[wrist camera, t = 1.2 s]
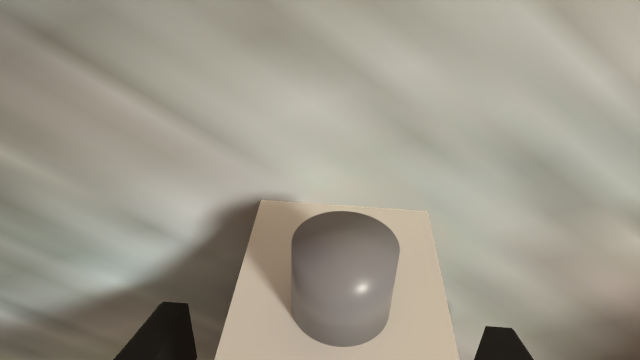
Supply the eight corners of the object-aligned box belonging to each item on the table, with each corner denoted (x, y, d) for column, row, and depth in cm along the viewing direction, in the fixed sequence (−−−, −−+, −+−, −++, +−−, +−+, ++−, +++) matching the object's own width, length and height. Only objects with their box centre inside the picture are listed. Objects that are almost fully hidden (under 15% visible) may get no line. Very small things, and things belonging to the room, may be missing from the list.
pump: (438, 154, 10) (493, 343, 6) (395, 363, 15) (411, 561, 10) (259, 143, 11) (196, 320, 6) (267, 354, 15) (232, 545, 10)
